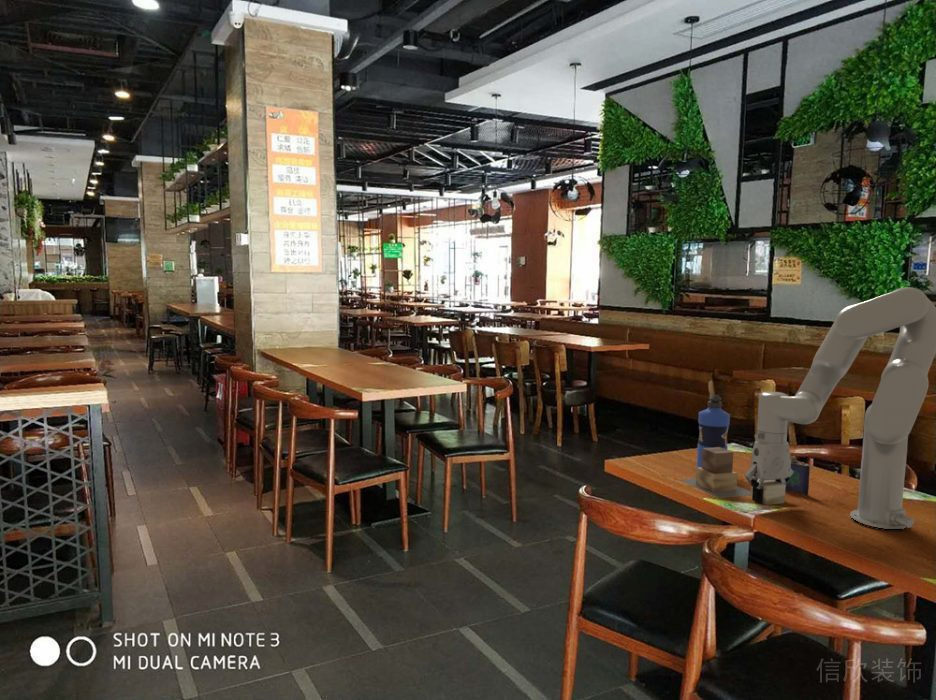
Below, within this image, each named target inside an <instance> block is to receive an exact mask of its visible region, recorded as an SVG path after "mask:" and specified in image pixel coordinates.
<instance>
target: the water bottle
mask: <svg viewBox="0 0 936 700" xmlns="http://www.w3.org/2000/svg"><path fill="white" fill-rule="evenodd" d="M708 399H709V400H708V401H707V408H706V409H704V410H701V411H699V412H698V420H697V421H698V429H699V431H698V432H699V435H698V436H699V437H698V441H697V451H696V469H697V468H698V467H702V451H703V448H715V447H721V448H723V449H726V450H728V447H729V446H728V431H729V427H730V421H731V420H730V419H731V418H730V417H731V414H730V413H729V412H726V411H724V410H723V409H722V407H723V402H722V401H721V400H722V398H721V397H720V395H719V394H711V395H710V396H709V397H708Z"/></svg>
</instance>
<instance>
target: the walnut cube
mask: <svg viewBox="0 0 936 700" xmlns="http://www.w3.org/2000/svg"><path fill="white" fill-rule="evenodd" d="M733 463H734V451H732V450H728V449H727V450H726V449H723V448H721V447H715V448H703V451H702V469H705V470H707V471H709V472H712V473H714V474H720V473H731V472H732V471H733V466H734V465H733Z"/></svg>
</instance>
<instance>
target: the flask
mask: <svg viewBox="0 0 936 700" xmlns="http://www.w3.org/2000/svg"><path fill="white" fill-rule="evenodd" d="M796 458H797V456H796V455H793V456H791V455H790V459H791V467H790V468H791V469H792V470H793V474H792V475H791V477H789V480H788V481H787V483H786V487H785V491H786V490H787V491H791V492H797V493H800V494H801V495H805V496H809V495H808V494H809V489H810V488H809V487H810V486H809V485H810V484H809V483H810V469H811V468H810V467H811V466H810V465H809V464H808V463H805V462H803V461H802V462H800V461H799V460H798V459H796Z"/></svg>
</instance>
